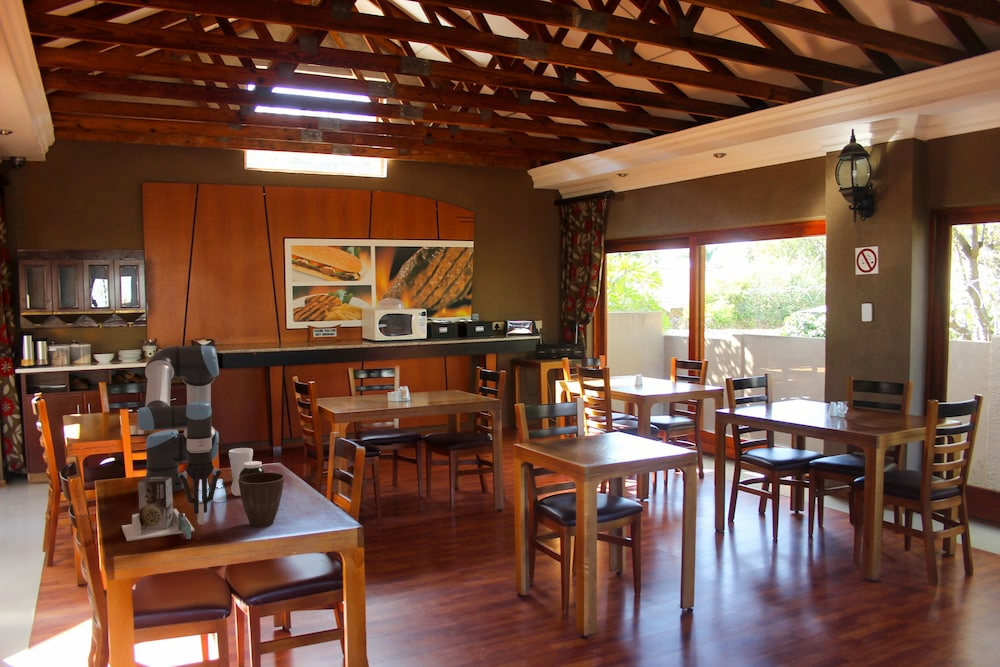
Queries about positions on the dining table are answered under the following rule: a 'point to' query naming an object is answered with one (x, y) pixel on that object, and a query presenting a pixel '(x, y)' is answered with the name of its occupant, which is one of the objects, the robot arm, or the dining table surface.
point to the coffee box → (156, 502)
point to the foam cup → (239, 460)
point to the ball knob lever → (184, 525)
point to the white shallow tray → (136, 533)
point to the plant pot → (261, 497)
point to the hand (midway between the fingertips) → (200, 523)
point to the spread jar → (248, 469)
